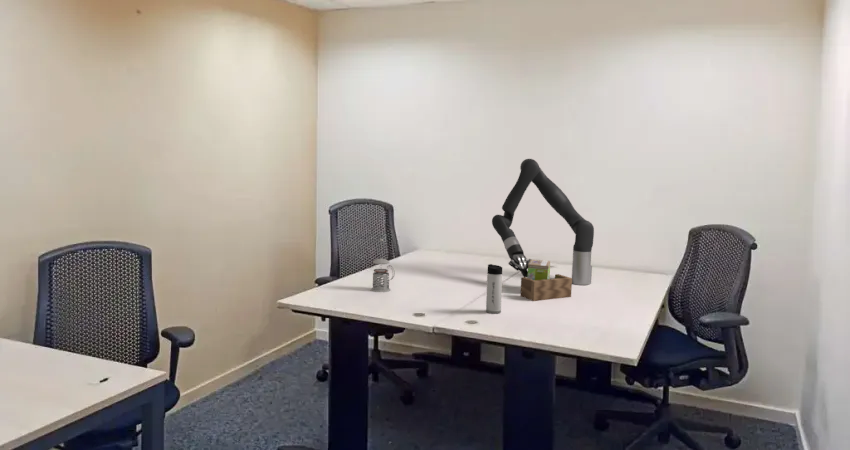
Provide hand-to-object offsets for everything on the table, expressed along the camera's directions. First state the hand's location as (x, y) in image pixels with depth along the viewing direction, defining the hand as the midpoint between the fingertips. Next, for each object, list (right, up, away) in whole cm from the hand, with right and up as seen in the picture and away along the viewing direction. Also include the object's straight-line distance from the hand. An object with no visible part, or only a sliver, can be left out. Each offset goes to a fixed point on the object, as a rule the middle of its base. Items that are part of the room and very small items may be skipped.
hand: (526, 276), depth 313 cm
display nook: (+7, -8, -12) cm, 16 cm away
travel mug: (-21, -12, -43) cm, 49 cm away
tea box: (+5, -8, -3) cm, 10 cm away
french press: (-70, -6, -7) cm, 71 cm away
